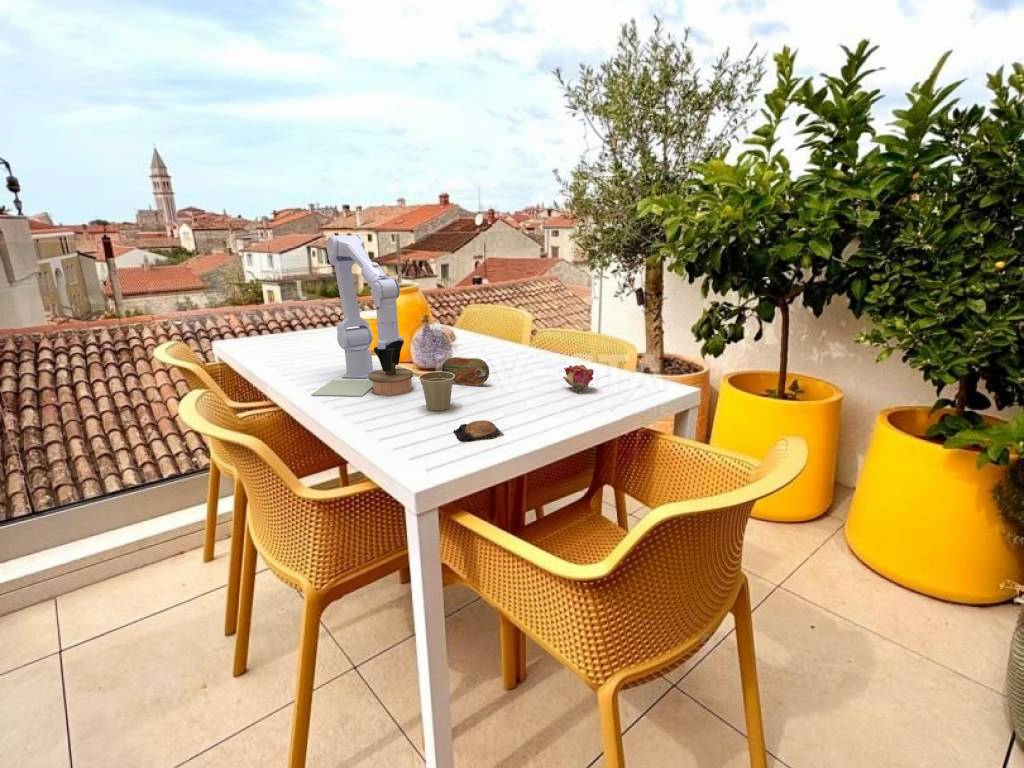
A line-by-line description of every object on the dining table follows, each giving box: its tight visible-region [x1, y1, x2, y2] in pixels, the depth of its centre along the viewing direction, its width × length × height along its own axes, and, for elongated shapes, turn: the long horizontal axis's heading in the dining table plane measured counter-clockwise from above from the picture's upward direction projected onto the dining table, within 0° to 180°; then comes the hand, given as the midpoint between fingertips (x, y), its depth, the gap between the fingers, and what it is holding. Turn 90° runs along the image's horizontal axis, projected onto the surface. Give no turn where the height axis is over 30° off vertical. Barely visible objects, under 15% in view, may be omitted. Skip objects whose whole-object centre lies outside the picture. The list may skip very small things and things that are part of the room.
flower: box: [562, 364, 594, 394], centre depth 145 cm, size 10×9×8 cm
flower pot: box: [418, 370, 455, 412], centre depth 131 cm, size 9×9×9 cm
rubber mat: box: [310, 379, 373, 398], centre depth 148 cm, size 15×15×1 cm
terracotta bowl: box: [372, 377, 413, 396], centre depth 147 cm, size 11×11×4 cm
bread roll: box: [452, 419, 505, 443], centre depth 114 cm, size 11×8×4 cm
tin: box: [441, 356, 490, 387], centre depth 151 cm, size 15×3×8 cm, turn 71°
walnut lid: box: [367, 363, 414, 383], centre depth 146 cm, size 13×13×4 cm
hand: (391, 367), depth 145 cm, fingers open, 7 cm apart
